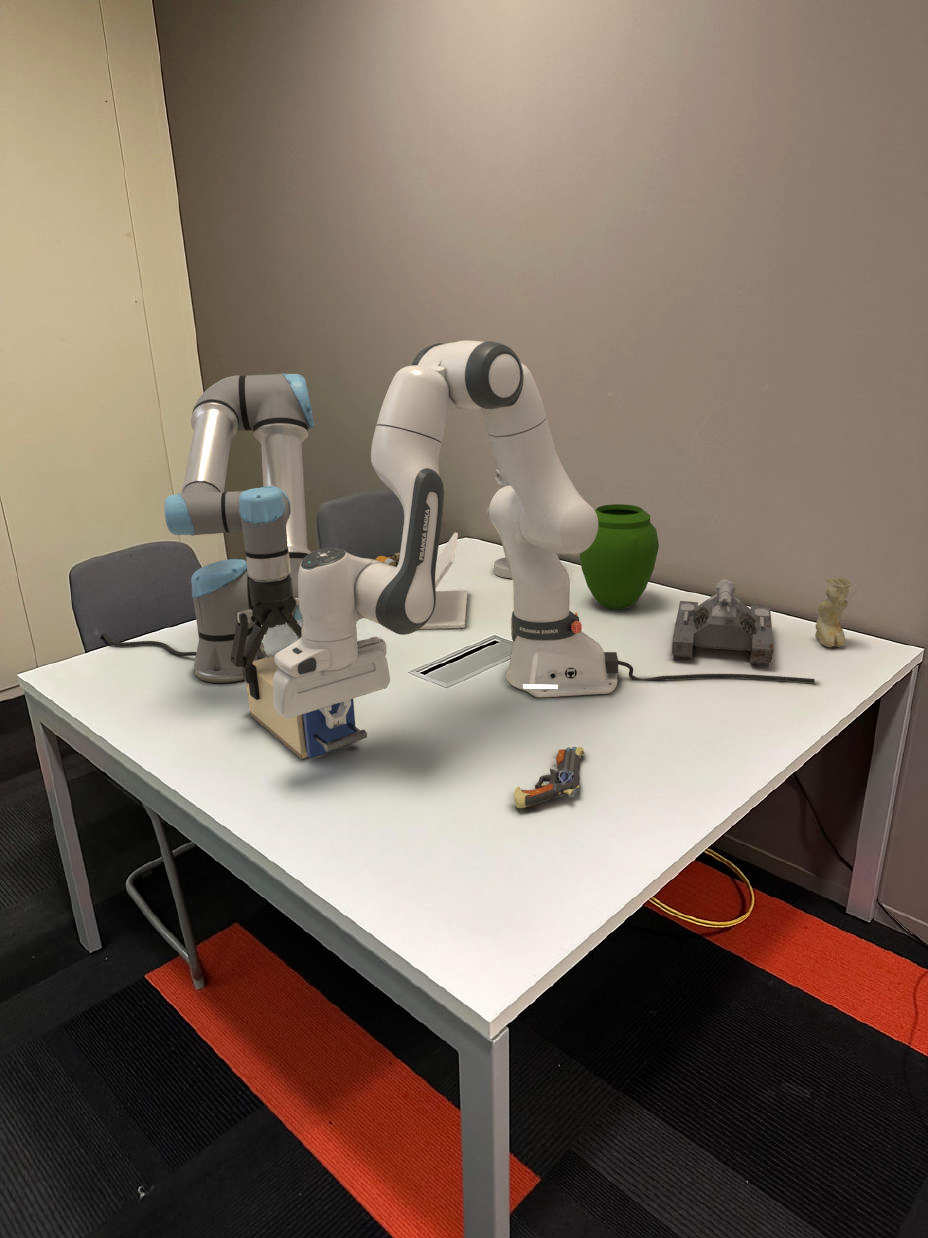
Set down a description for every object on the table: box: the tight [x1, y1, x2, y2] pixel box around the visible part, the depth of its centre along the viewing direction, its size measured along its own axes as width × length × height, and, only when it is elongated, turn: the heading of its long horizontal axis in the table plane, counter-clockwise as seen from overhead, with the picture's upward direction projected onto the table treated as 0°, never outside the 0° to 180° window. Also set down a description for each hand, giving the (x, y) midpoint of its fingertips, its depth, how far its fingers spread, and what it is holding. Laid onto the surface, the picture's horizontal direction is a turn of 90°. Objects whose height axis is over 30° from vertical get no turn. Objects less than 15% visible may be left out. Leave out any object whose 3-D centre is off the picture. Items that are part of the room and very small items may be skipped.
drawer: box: [302, 698, 368, 759], centre depth 151 cm, size 26×9×9 cm, turn 37°
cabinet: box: [245, 654, 309, 760], centre depth 156 cm, size 22×10×11 cm, turn 37°
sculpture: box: [814, 576, 852, 648], centre depth 185 cm, size 6×7×15 cm
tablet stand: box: [419, 531, 468, 630], centre depth 211 cm, size 18×25×17 cm
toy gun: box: [513, 746, 585, 809], centre depth 137 cm, size 3×19×10 cm
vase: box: [578, 503, 660, 610], centre depth 210 cm, size 20×20×24 cm
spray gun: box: [375, 552, 400, 567], centre depth 248 cm, size 4×17×15 cm
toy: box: [671, 578, 775, 666], centre depth 186 cm, size 25×20×15 cm
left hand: (282, 688), depth 160 cm, fingers closed on cabinet, 10 cm apart
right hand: (336, 725), depth 143 cm, fingers closed
